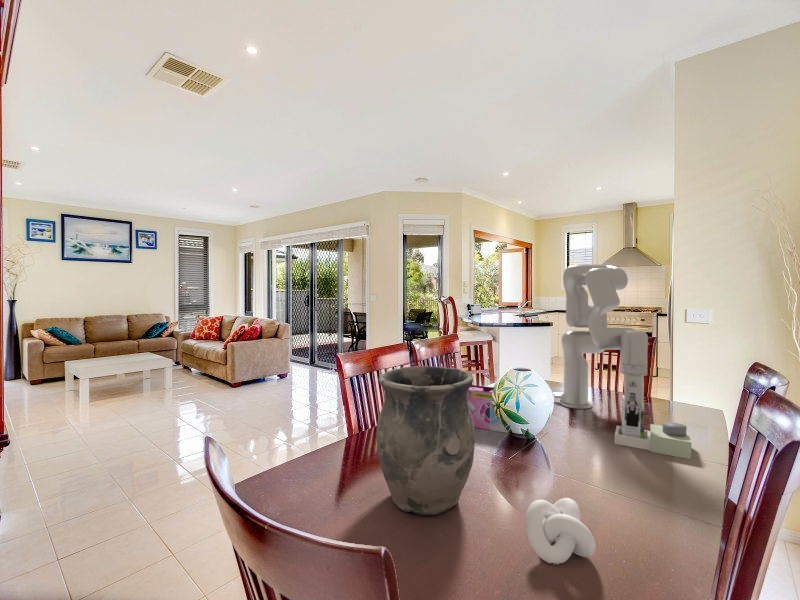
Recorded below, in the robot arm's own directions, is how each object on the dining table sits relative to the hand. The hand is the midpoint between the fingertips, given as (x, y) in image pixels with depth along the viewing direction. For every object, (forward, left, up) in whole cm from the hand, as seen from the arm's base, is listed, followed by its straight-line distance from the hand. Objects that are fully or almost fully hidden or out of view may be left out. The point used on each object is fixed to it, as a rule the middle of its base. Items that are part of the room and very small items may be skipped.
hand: (632, 421), depth 126 cm
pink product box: (-42, -11, -7) cm, 44 cm away
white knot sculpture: (-10, -68, -7) cm, 69 cm away
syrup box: (0, 0, -7) cm, 7 cm away
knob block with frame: (+5, 0, -7) cm, 8 cm away
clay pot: (-40, -66, -7) cm, 77 cm away
